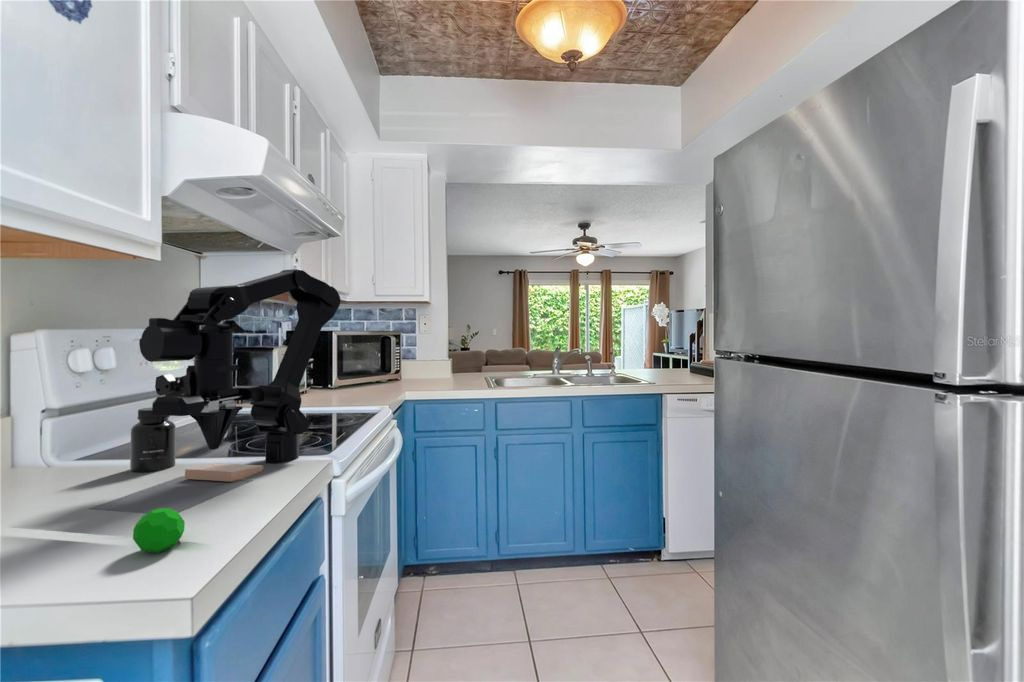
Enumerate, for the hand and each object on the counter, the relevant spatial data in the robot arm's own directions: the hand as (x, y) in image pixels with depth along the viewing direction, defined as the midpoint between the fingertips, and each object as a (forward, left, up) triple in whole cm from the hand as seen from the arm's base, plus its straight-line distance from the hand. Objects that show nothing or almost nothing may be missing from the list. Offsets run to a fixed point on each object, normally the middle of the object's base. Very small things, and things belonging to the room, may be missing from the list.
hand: (213, 449), depth 82 cm
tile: (+1, 0, -4) cm, 4 cm away
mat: (+7, 0, -6) cm, 10 cm away
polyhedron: (+23, +13, -6) cm, 27 cm away
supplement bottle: (-5, -17, -6) cm, 19 cm away
